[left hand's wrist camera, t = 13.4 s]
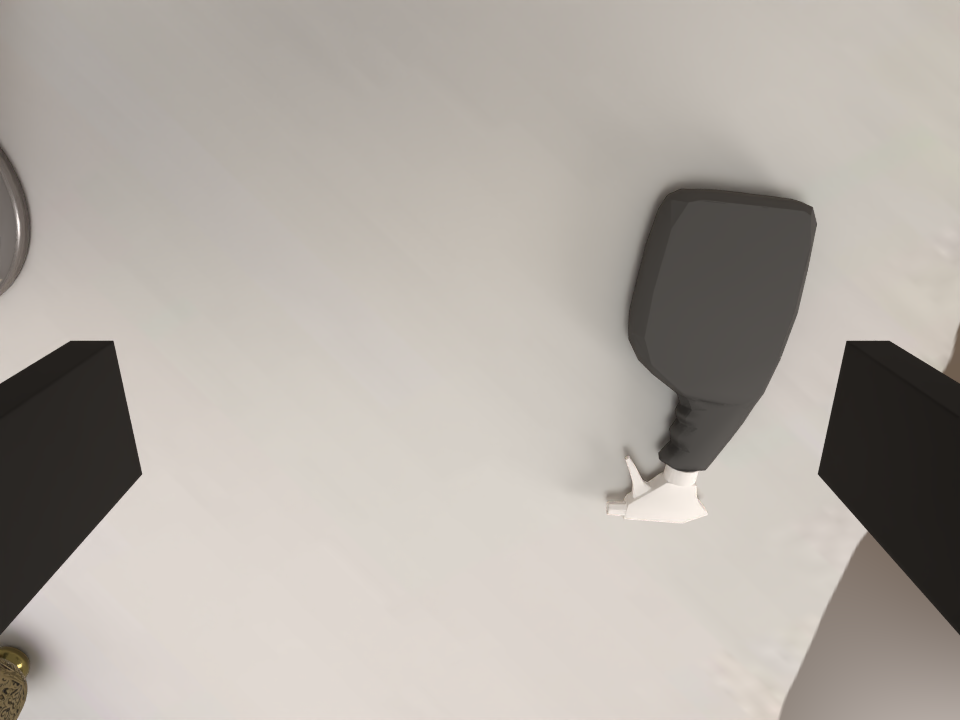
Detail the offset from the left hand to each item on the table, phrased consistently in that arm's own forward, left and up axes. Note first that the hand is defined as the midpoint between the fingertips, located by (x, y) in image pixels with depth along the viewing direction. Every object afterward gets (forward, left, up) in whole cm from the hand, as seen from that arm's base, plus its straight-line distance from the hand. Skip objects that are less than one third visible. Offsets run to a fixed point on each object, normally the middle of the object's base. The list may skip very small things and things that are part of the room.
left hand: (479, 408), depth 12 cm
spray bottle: (+16, +12, -33) cm, 39 cm away
